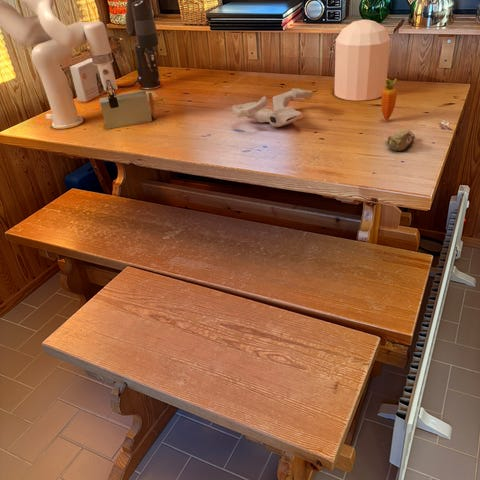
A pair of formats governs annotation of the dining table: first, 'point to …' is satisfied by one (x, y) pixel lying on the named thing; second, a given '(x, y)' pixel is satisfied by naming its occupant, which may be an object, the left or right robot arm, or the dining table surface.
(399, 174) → the dining table surface
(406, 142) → the rock
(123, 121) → the grey rectangular box
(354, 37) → the container
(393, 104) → the carrot
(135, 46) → the right robot arm
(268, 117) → the beige branched piece
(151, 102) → the drawer
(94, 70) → the skincare box
